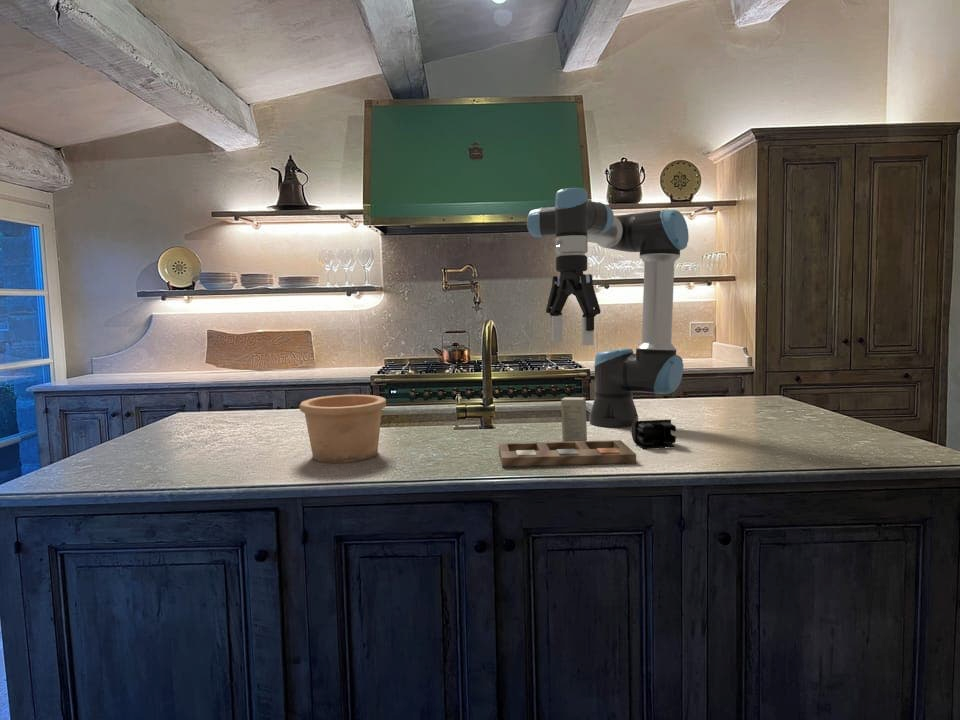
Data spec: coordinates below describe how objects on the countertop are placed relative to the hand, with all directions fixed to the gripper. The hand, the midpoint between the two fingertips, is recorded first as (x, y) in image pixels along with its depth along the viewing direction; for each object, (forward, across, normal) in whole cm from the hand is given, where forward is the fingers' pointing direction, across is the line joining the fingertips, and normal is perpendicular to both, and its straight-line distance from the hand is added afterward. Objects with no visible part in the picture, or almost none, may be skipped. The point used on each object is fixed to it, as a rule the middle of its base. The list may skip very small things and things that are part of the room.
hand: (571, 343), depth 156 cm
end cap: (+29, -2, +27) cm, 40 cm away
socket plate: (+29, -2, -1) cm, 29 cm away
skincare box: (+29, -16, +11) cm, 35 cm away
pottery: (+29, -32, -49) cm, 65 cm away
